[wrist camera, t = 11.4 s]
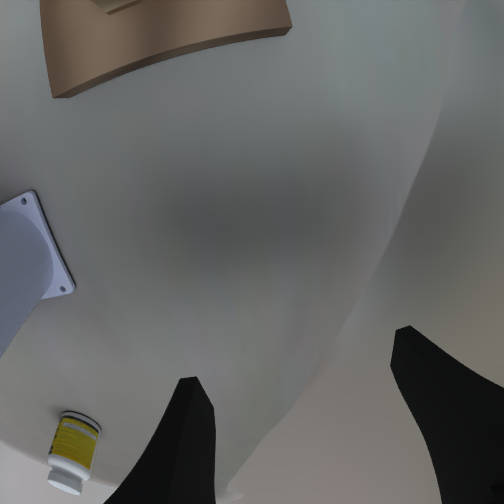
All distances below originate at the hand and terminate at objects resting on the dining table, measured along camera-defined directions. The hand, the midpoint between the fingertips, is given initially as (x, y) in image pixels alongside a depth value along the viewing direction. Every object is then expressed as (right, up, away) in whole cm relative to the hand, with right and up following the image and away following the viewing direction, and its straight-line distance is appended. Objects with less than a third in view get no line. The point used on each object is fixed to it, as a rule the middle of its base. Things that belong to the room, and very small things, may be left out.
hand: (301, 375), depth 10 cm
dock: (-8, +20, +1) cm, 22 cm away
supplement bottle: (-23, -16, +18) cm, 33 cm away
